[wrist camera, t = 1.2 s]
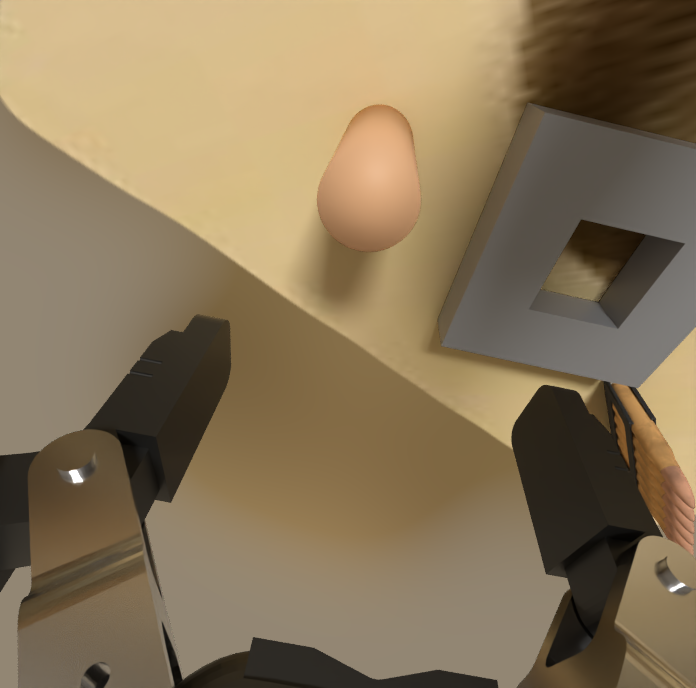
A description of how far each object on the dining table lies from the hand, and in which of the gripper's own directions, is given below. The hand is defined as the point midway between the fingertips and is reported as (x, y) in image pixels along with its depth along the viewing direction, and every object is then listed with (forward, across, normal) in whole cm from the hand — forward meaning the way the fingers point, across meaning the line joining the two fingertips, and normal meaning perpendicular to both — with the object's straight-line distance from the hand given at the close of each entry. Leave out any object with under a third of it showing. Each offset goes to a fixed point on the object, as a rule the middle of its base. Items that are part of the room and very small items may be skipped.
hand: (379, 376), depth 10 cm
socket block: (+20, -15, +3) cm, 25 cm away
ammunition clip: (+20, -27, +18) cm, 38 cm away
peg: (+20, +1, -1) cm, 20 cm away
